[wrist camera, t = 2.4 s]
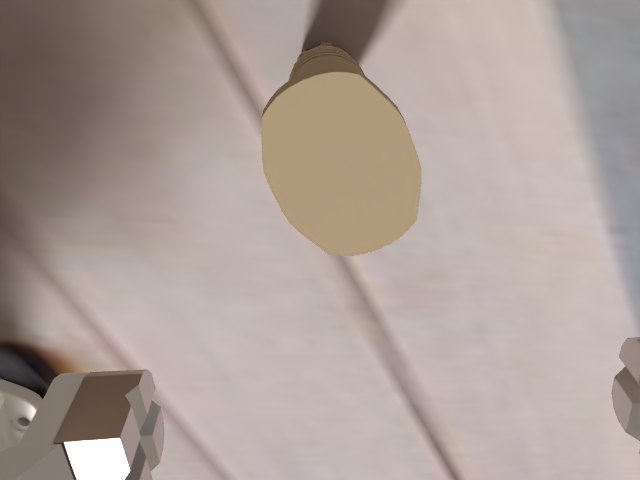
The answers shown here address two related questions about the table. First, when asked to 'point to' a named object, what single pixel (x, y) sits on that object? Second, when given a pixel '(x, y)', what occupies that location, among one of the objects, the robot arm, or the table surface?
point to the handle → (340, 156)
